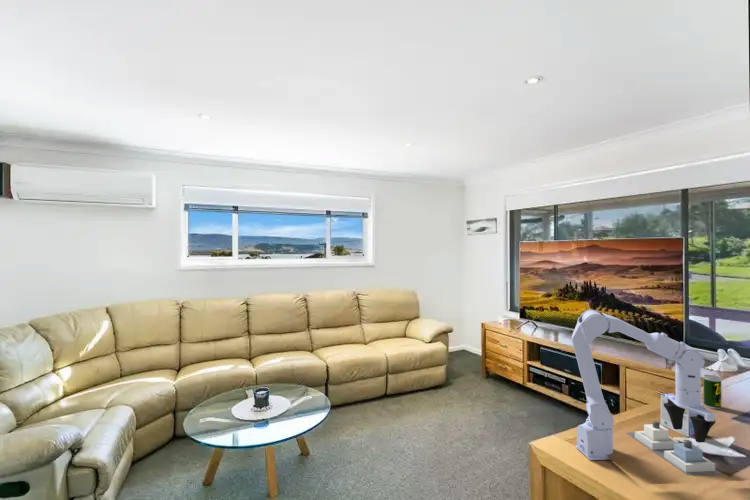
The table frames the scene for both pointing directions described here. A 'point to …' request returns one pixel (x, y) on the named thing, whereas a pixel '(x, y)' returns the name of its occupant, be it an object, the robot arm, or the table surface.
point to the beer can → (712, 391)
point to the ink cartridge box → (687, 423)
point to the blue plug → (688, 452)
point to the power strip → (667, 453)
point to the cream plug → (656, 432)
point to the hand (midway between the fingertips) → (688, 435)
